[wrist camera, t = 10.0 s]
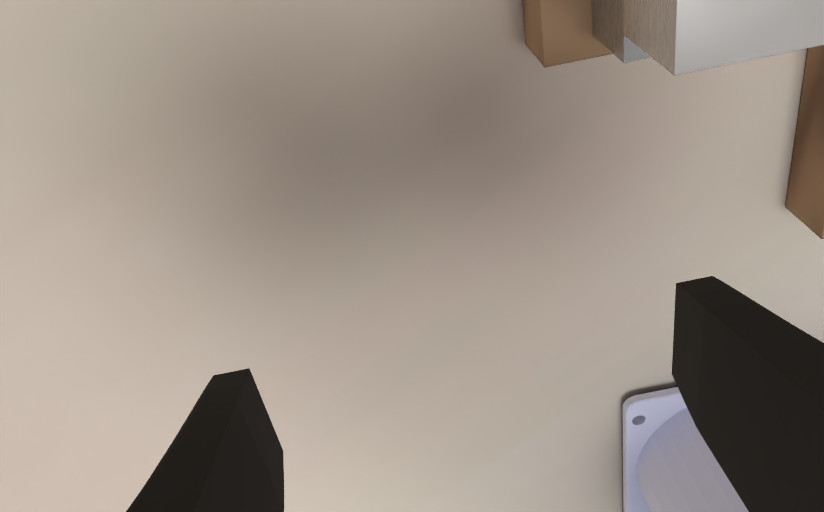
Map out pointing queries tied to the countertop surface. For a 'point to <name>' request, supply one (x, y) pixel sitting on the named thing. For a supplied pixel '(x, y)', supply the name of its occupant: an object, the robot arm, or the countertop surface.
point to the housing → (706, 30)
